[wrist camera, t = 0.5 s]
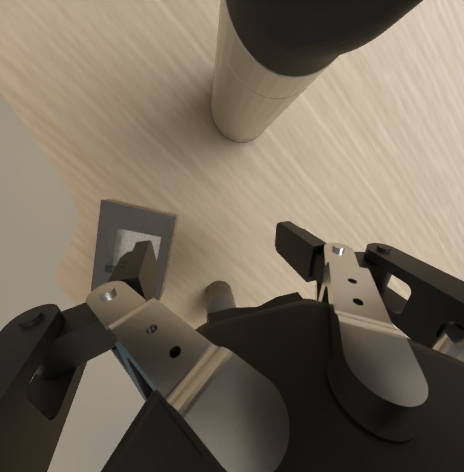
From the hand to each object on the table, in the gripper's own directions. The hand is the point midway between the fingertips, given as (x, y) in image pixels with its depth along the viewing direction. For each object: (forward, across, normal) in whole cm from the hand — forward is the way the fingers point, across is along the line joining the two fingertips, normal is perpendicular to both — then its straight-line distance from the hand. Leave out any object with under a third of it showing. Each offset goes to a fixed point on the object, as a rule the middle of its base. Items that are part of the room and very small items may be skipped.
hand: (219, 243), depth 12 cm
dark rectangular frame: (+20, +10, +9) cm, 24 cm away
